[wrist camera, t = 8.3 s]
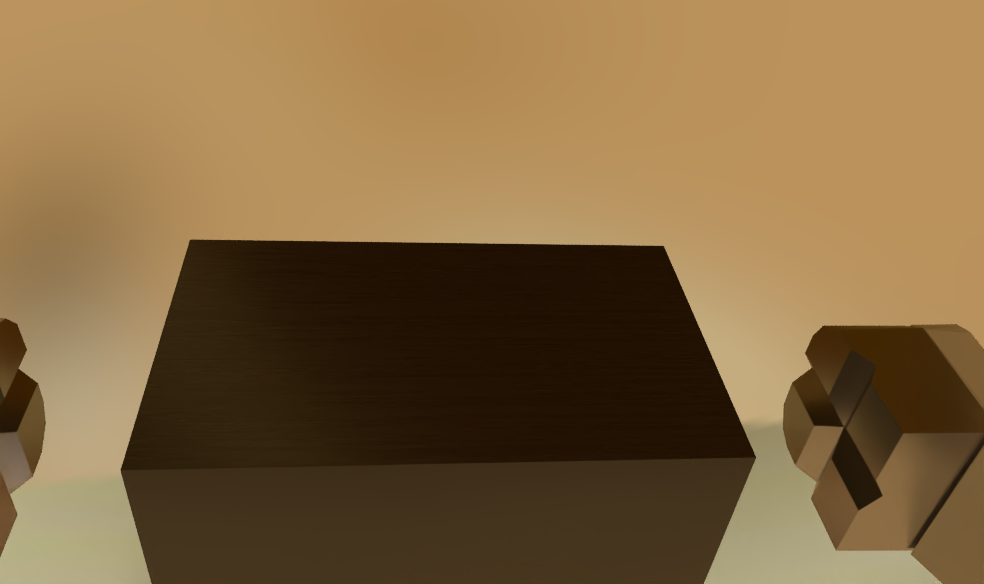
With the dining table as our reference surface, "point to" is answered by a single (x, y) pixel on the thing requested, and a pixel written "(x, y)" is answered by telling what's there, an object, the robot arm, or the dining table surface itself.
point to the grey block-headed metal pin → (432, 418)
